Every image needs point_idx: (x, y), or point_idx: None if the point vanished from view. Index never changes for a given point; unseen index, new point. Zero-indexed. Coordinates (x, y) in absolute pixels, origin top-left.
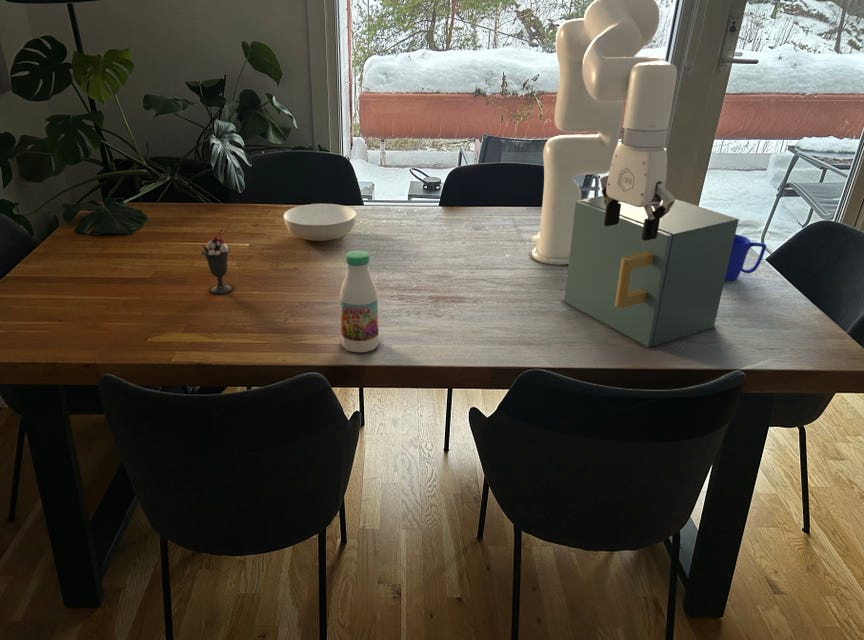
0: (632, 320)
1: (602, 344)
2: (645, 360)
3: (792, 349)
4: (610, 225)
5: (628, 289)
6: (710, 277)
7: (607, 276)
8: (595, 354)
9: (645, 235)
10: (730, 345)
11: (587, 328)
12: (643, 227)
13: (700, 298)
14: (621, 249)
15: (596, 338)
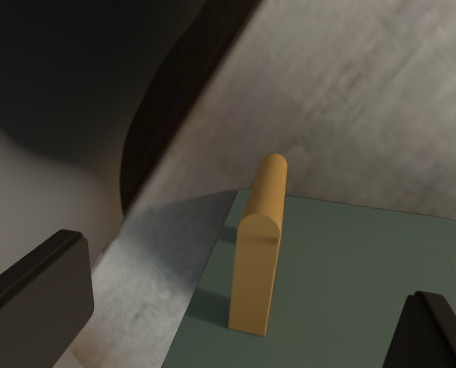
0: (286, 211)
1: (303, 130)
2: (209, 144)
3: (123, 332)
4: (404, 322)
5: (315, 250)
6: None
7: (405, 270)
8: (282, 82)
9: (42, 247)
10: (172, 289)
11: (375, 163)
12: (30, 281)
13: None
14: (389, 338)
15: (330, 141)
